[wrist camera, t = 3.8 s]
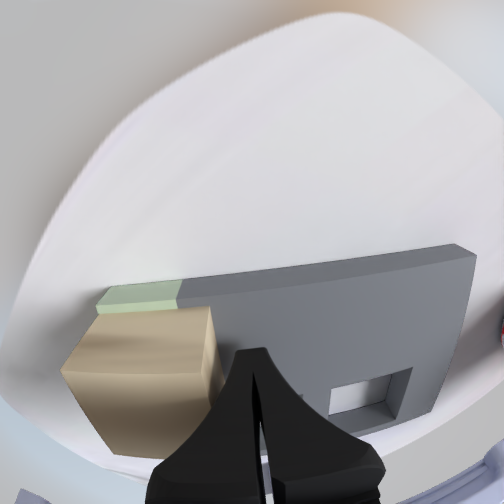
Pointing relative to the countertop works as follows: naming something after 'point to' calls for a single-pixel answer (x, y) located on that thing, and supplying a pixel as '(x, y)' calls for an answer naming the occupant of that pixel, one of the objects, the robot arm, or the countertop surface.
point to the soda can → (502, 334)
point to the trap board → (335, 325)
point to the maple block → (146, 378)
